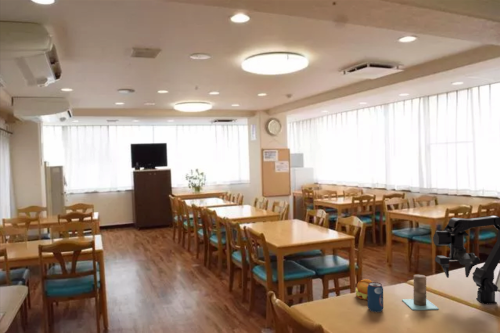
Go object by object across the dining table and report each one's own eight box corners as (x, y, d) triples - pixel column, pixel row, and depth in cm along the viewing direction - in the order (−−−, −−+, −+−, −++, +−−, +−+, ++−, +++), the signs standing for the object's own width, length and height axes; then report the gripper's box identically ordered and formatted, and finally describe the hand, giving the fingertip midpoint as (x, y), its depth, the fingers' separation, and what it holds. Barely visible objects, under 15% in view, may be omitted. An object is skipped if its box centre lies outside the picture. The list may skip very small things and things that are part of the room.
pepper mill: (426, 302, 187) (426, 275, 187) (426, 306, 182) (426, 278, 182) (413, 300, 189) (413, 274, 189) (413, 305, 184) (413, 277, 184)
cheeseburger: (373, 293, 202) (374, 275, 200) (378, 305, 192) (379, 287, 189) (353, 292, 203) (354, 275, 201) (357, 305, 193) (358, 287, 190)
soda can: (384, 313, 177) (384, 286, 177) (368, 312, 178) (368, 286, 178) (382, 307, 184) (382, 281, 183) (366, 306, 185) (366, 281, 185)
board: (426, 299, 192) (426, 298, 192) (438, 309, 180) (438, 308, 180) (402, 300, 192) (402, 299, 192) (412, 310, 180) (412, 308, 180)
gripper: (446, 249, 179) (446, 283, 179) (487, 248, 179) (487, 282, 180) (434, 243, 190) (434, 275, 191) (472, 243, 190) (473, 275, 191)
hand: (457, 277), depth 188 cm, fingers open, 9 cm apart
